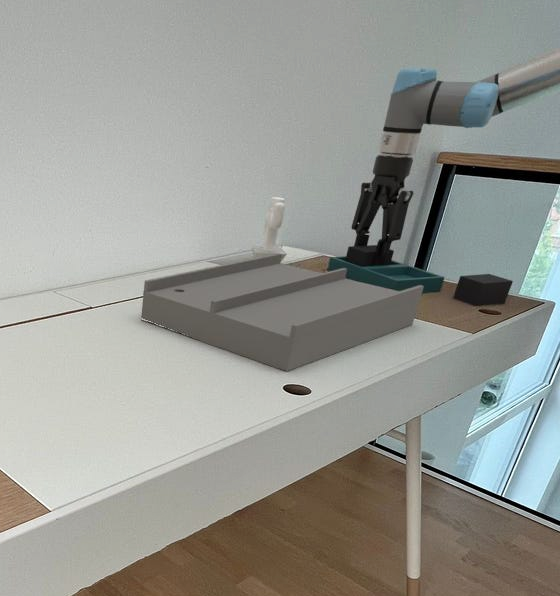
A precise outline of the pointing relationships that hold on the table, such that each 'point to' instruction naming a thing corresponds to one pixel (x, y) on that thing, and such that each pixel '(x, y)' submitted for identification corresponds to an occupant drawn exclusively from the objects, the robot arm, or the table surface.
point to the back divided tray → (389, 275)
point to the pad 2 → (482, 289)
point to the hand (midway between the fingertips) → (366, 267)
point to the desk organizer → (277, 310)
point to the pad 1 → (365, 255)
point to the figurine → (271, 230)
